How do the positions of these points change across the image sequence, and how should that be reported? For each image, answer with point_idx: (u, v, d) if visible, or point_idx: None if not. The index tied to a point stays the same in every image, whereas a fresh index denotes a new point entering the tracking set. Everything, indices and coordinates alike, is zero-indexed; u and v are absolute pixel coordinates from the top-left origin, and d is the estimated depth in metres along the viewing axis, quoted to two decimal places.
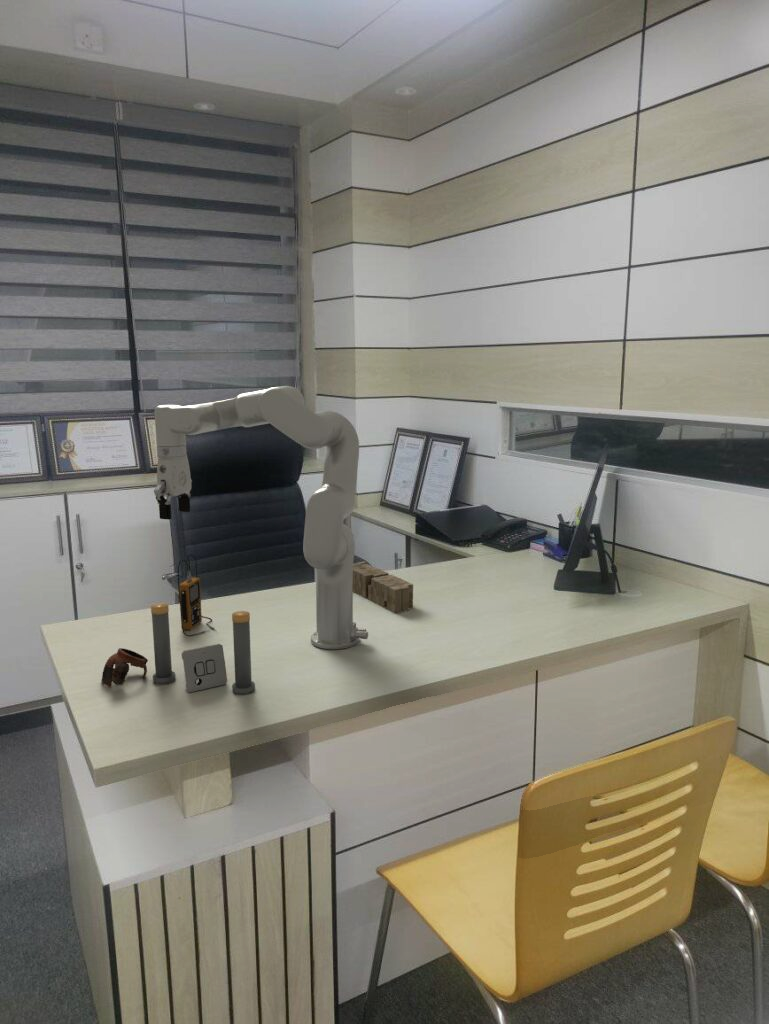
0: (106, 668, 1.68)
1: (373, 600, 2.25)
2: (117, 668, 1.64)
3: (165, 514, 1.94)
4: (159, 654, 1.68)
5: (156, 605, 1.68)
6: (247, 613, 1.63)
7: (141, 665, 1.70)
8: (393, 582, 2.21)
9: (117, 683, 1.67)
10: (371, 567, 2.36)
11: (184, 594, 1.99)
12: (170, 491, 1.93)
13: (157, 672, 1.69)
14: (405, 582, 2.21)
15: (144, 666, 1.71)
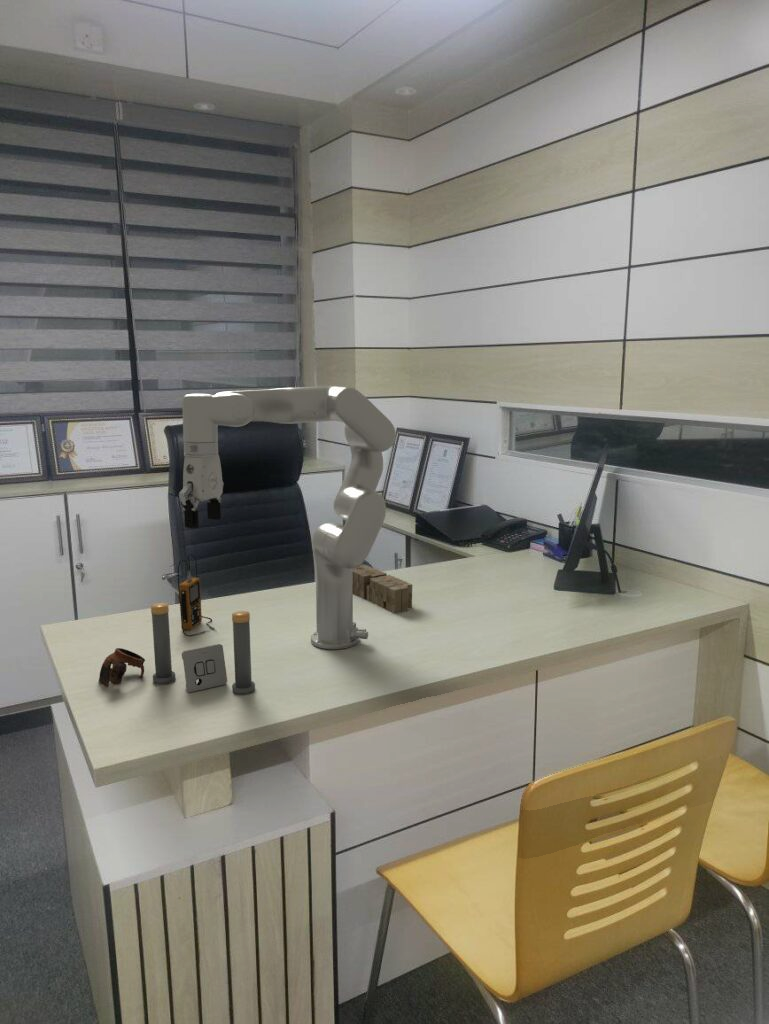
0: (103, 668, 1.69)
1: (372, 601, 2.25)
2: (114, 668, 1.64)
3: (191, 522, 1.65)
4: (159, 654, 1.68)
5: (156, 605, 1.68)
6: (247, 613, 1.63)
7: (138, 665, 1.70)
8: (392, 582, 2.20)
9: (114, 683, 1.67)
10: (368, 567, 2.35)
11: (184, 594, 1.99)
12: (198, 495, 1.64)
13: (157, 672, 1.69)
14: (404, 582, 2.21)
15: (141, 666, 1.71)
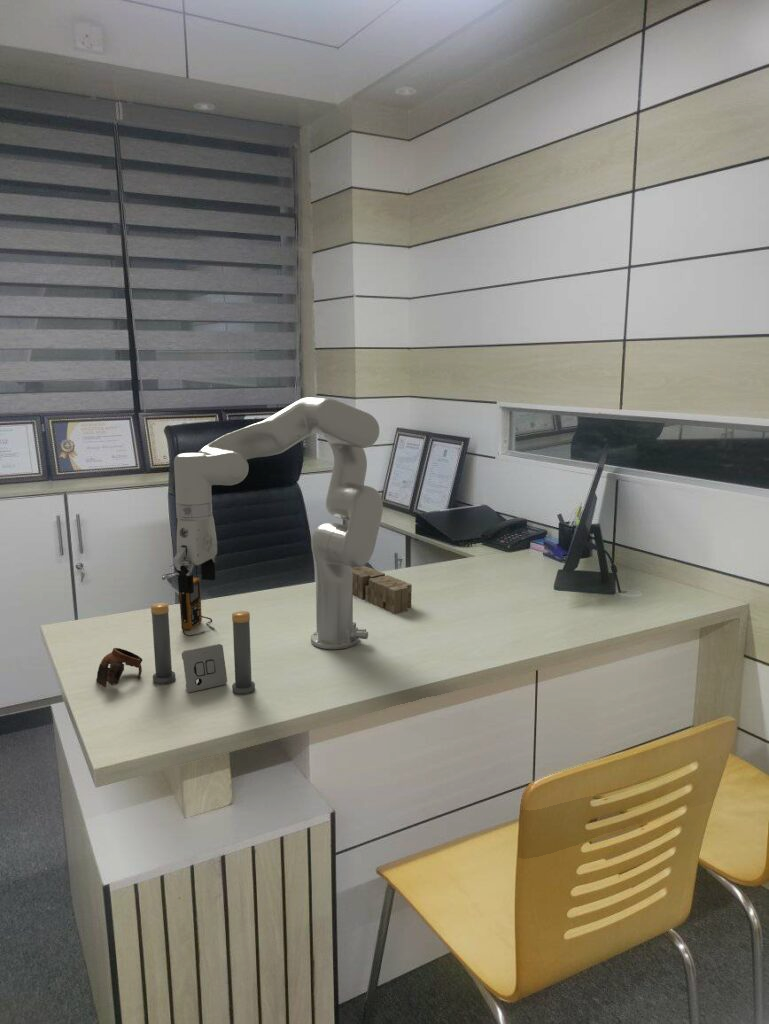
0: (101, 668, 1.69)
1: (371, 601, 2.24)
2: (112, 667, 1.65)
3: (186, 587, 1.58)
4: (159, 654, 1.68)
5: (156, 605, 1.68)
6: (247, 613, 1.63)
7: (136, 664, 1.70)
8: (391, 583, 2.20)
9: (112, 682, 1.67)
10: (366, 568, 2.35)
11: (184, 594, 1.99)
12: (193, 559, 1.57)
13: (157, 672, 1.69)
14: (403, 582, 2.20)
15: (139, 665, 1.71)
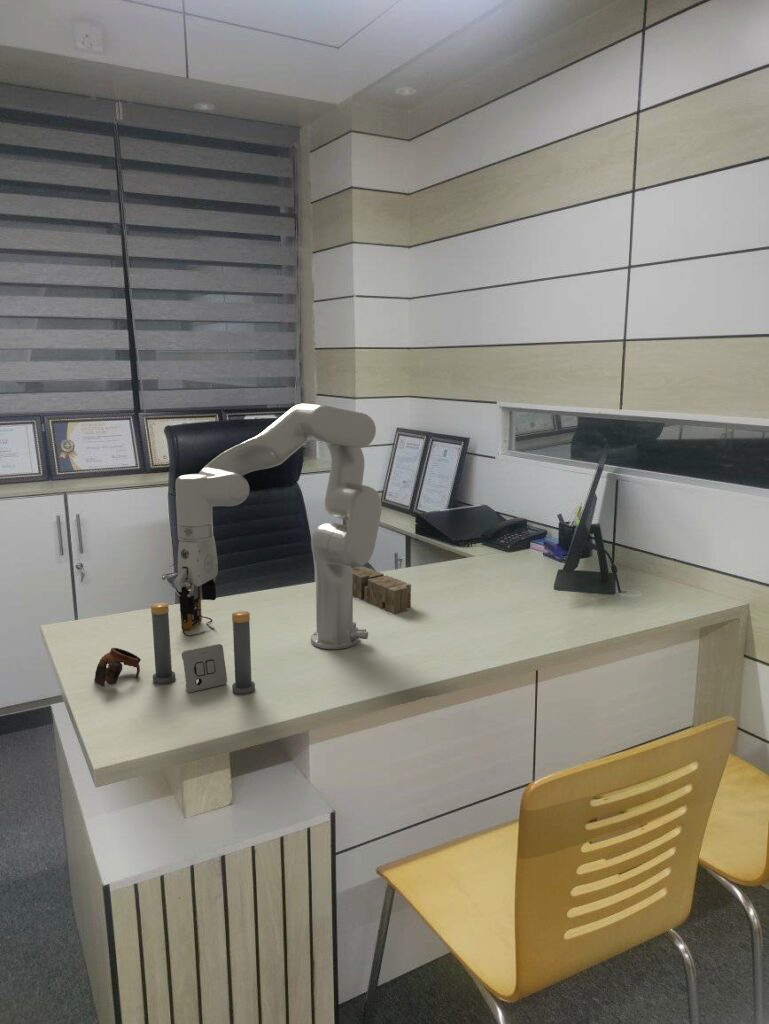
0: (99, 668, 1.69)
1: (370, 601, 2.24)
2: (110, 667, 1.65)
3: (187, 608, 1.59)
4: (159, 654, 1.68)
5: (156, 605, 1.68)
6: (247, 613, 1.63)
7: (134, 664, 1.70)
8: (390, 583, 2.20)
9: (110, 682, 1.67)
10: (365, 568, 2.35)
11: None
12: (193, 580, 1.58)
13: (157, 672, 1.69)
14: (402, 583, 2.20)
15: (137, 665, 1.72)
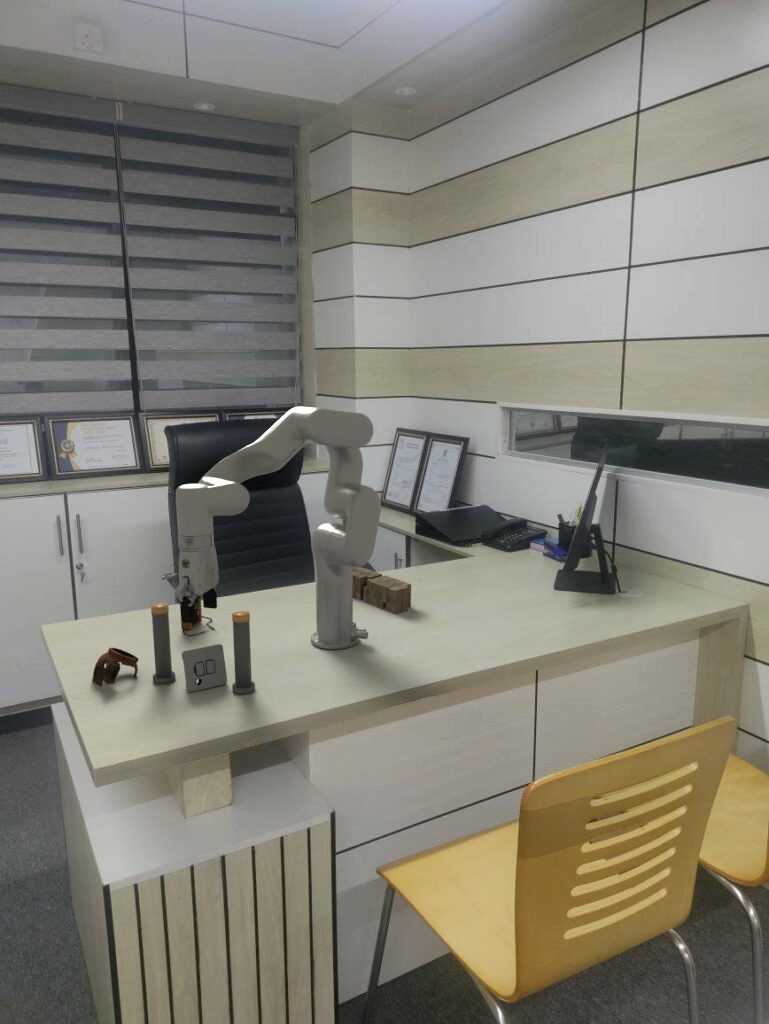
0: (97, 667, 1.69)
1: (369, 602, 2.23)
2: (108, 667, 1.65)
3: (188, 617, 1.59)
4: (159, 654, 1.68)
5: (156, 605, 1.68)
6: (247, 613, 1.63)
7: (132, 664, 1.71)
8: (391, 583, 2.20)
9: (108, 682, 1.67)
10: (362, 569, 2.34)
11: None
12: (195, 590, 1.58)
13: (157, 672, 1.69)
14: (402, 582, 2.20)
15: (135, 665, 1.72)
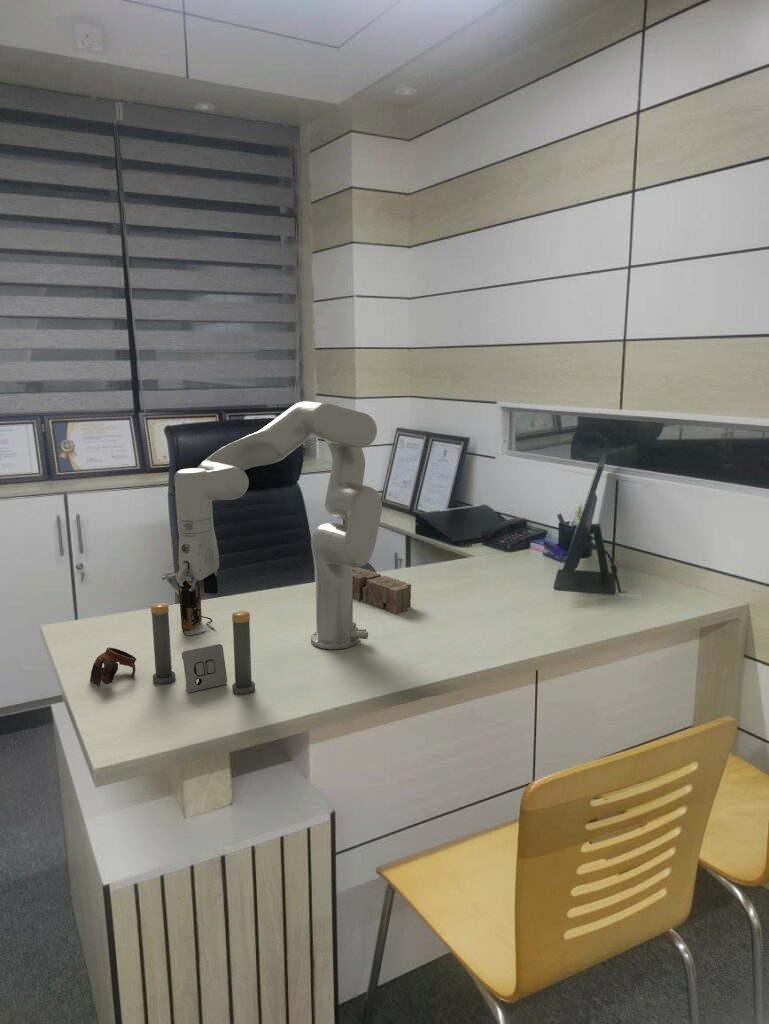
0: (95, 667, 1.69)
1: (369, 602, 2.23)
2: (106, 667, 1.65)
3: (189, 602, 1.59)
4: (159, 654, 1.68)
5: (156, 605, 1.68)
6: (247, 613, 1.63)
7: (130, 664, 1.71)
8: (390, 583, 2.20)
9: (106, 682, 1.67)
10: (360, 569, 2.34)
11: None
12: (195, 575, 1.58)
13: (157, 672, 1.69)
14: (402, 582, 2.20)
15: (133, 665, 1.72)
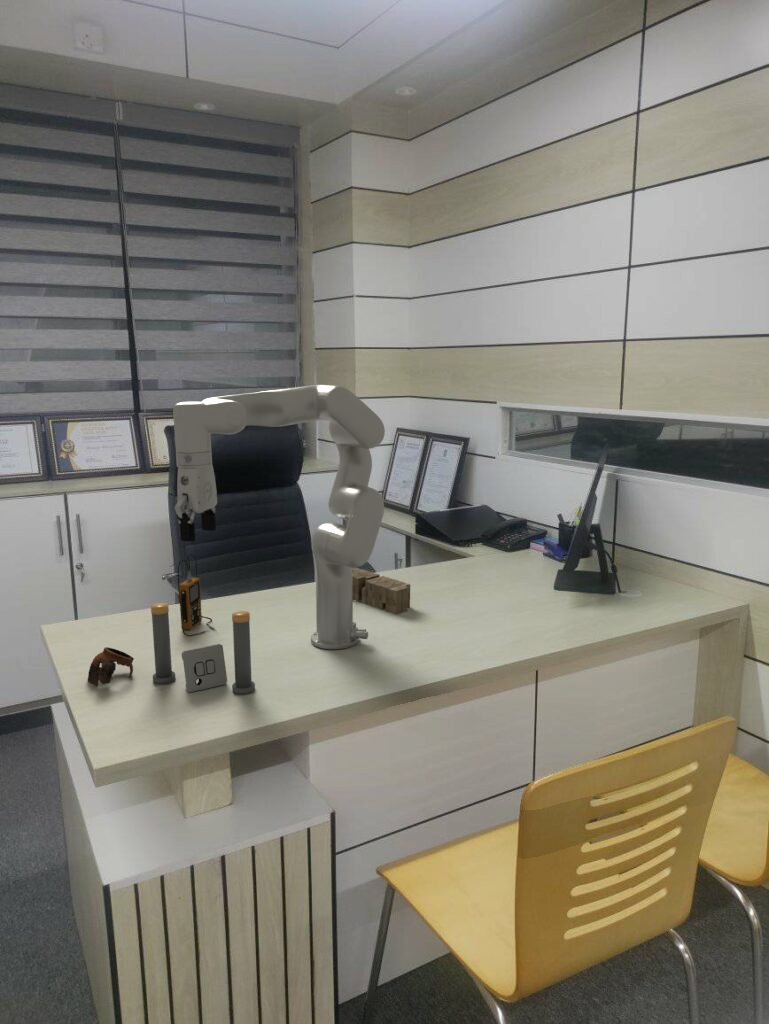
0: (92, 667, 1.69)
1: (368, 603, 2.23)
2: (104, 667, 1.65)
3: (188, 535, 1.59)
4: (159, 654, 1.68)
5: (156, 605, 1.68)
6: (247, 613, 1.63)
7: (127, 664, 1.71)
8: (390, 583, 2.19)
9: (104, 682, 1.67)
10: (359, 569, 2.33)
11: (184, 594, 1.99)
12: (194, 507, 1.58)
13: (157, 672, 1.69)
14: (401, 583, 2.20)
15: (130, 665, 1.72)
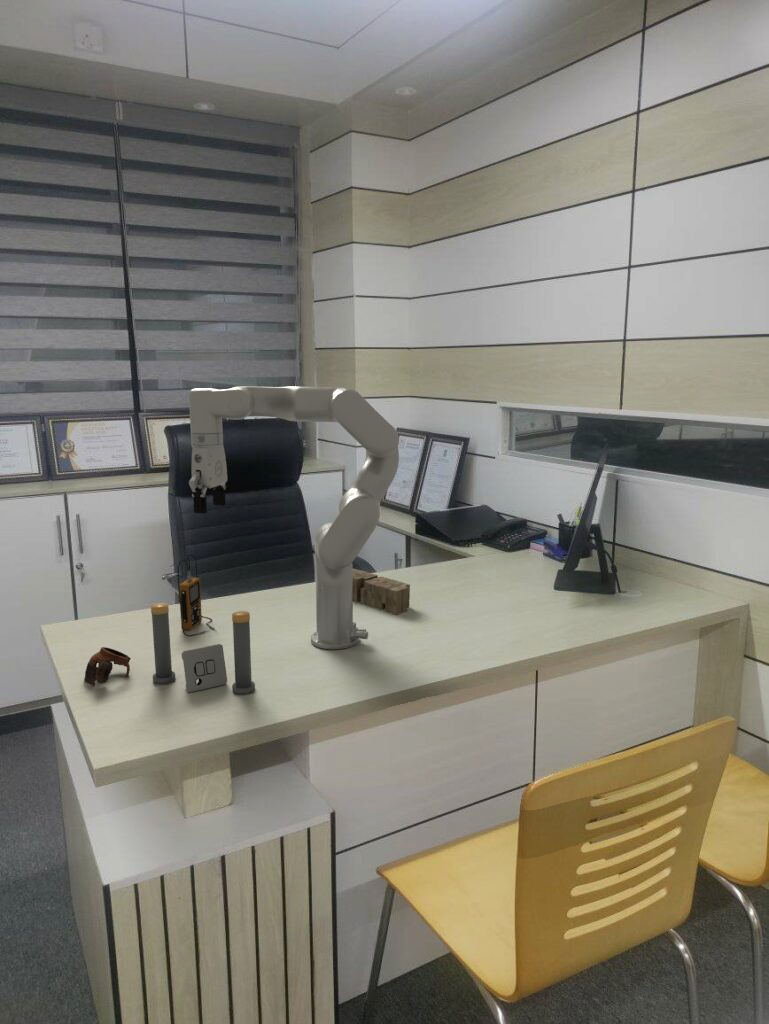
0: (89, 667, 1.69)
1: (367, 603, 2.22)
2: (101, 666, 1.65)
3: (200, 507, 1.77)
4: (159, 654, 1.68)
5: (156, 605, 1.68)
6: (247, 613, 1.63)
7: (124, 663, 1.71)
8: (389, 584, 2.19)
9: (101, 682, 1.67)
10: (356, 570, 2.32)
11: (184, 594, 1.99)
12: (206, 482, 1.76)
13: (157, 672, 1.69)
14: (401, 583, 2.20)
15: (127, 664, 1.72)
